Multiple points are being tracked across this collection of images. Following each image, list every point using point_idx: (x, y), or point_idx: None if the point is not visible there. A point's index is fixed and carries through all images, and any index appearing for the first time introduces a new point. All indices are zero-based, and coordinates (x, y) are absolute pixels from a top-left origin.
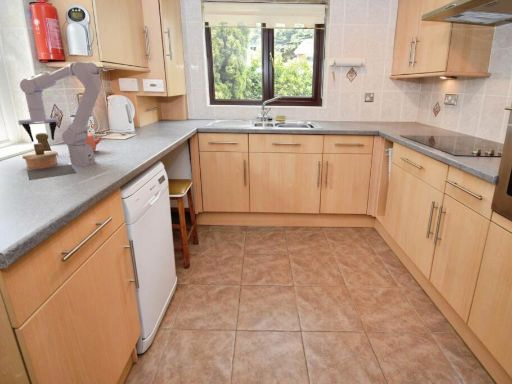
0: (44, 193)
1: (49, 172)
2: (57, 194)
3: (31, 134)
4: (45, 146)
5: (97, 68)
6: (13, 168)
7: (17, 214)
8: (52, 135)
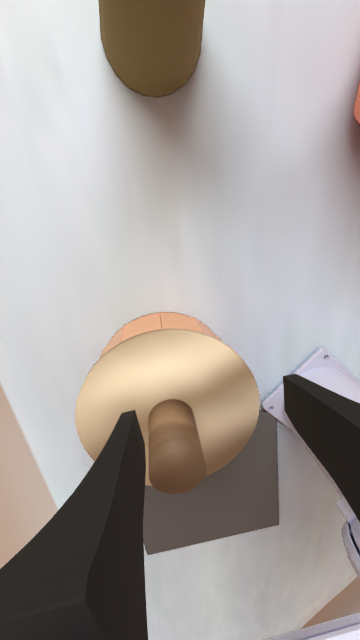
0: (195, 629)
1: (200, 497)
2: (221, 636)
3: (139, 523)
4: (172, 26)
5: None
6: (36, 371)
7: None
8: (315, 447)
